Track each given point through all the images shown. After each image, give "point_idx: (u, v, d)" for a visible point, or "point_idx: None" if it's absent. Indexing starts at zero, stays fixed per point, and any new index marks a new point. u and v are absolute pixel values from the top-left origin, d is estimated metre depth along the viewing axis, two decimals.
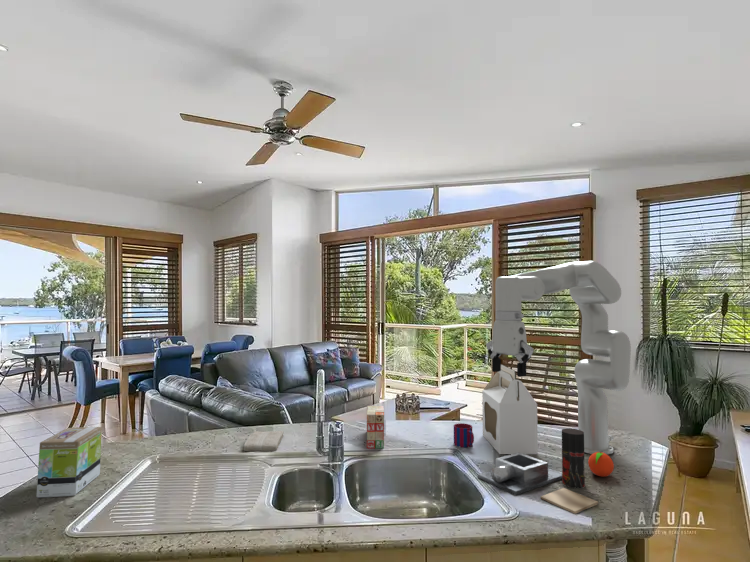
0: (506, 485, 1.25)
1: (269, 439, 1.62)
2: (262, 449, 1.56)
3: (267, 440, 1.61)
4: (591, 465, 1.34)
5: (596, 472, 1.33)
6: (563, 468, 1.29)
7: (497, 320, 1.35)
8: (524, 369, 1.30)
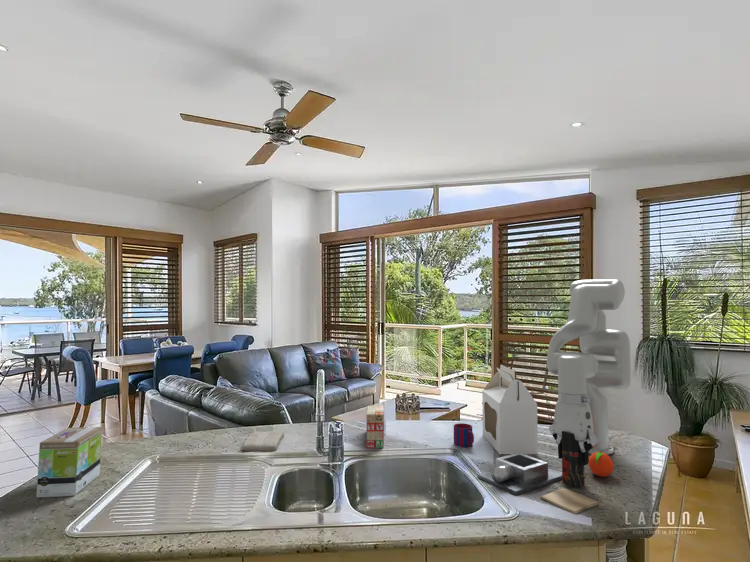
0: (506, 485, 1.25)
1: (269, 439, 1.62)
2: (261, 449, 1.56)
3: (267, 440, 1.61)
4: (591, 465, 1.34)
5: (596, 472, 1.33)
6: (563, 468, 1.29)
7: (560, 402, 1.29)
8: (586, 458, 1.26)
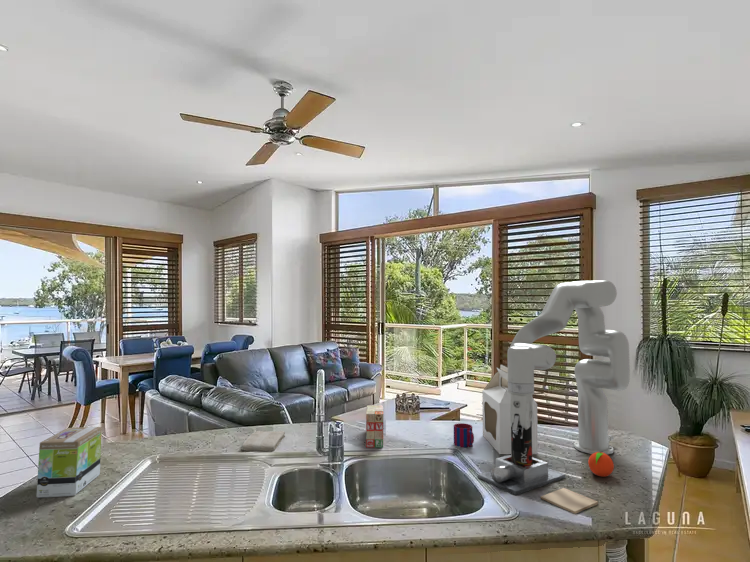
0: (506, 485, 1.25)
1: (268, 439, 1.62)
2: (260, 449, 1.56)
3: (266, 440, 1.61)
4: (591, 465, 1.34)
5: (596, 472, 1.33)
6: None
7: None
8: (518, 445, 1.30)
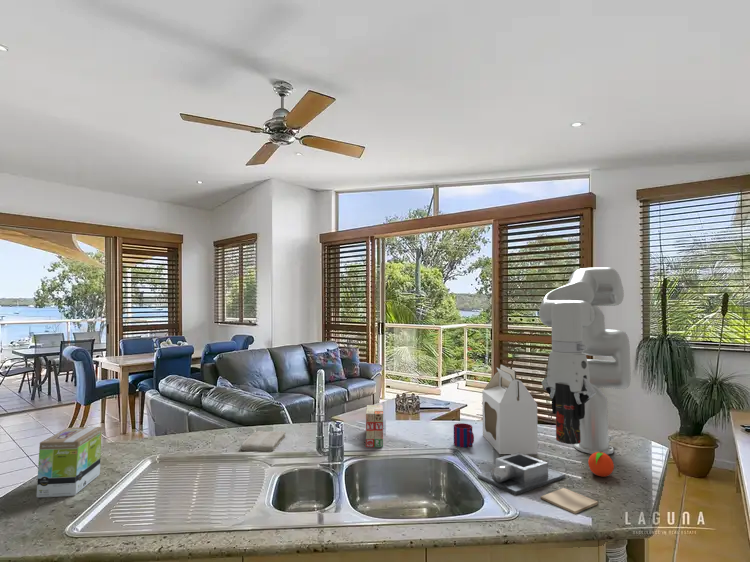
0: (506, 485, 1.25)
1: (268, 439, 1.62)
2: (259, 449, 1.56)
3: (266, 440, 1.61)
4: (591, 465, 1.34)
5: (596, 472, 1.33)
6: (556, 423, 1.19)
7: (554, 351, 1.19)
8: (583, 411, 1.15)
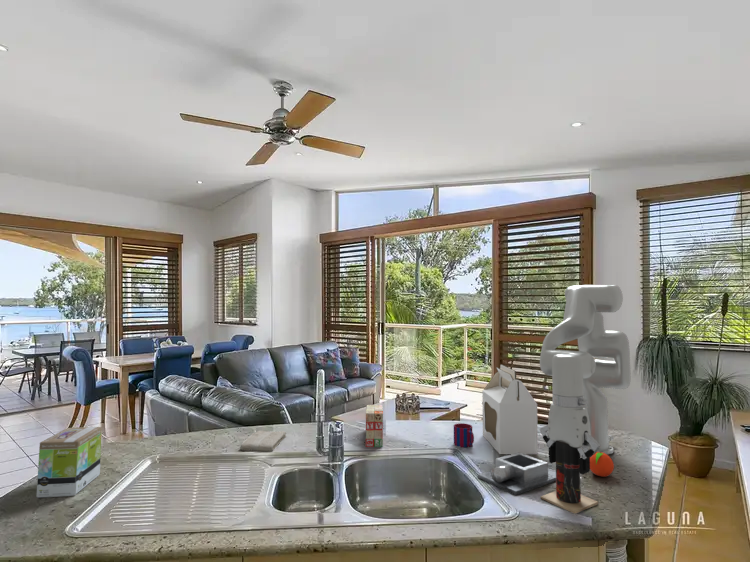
0: (506, 485, 1.25)
1: (267, 439, 1.62)
2: (258, 449, 1.56)
3: (265, 440, 1.61)
4: (591, 465, 1.34)
5: (596, 472, 1.33)
6: (557, 480, 1.18)
7: (555, 405, 1.18)
8: (588, 465, 1.14)
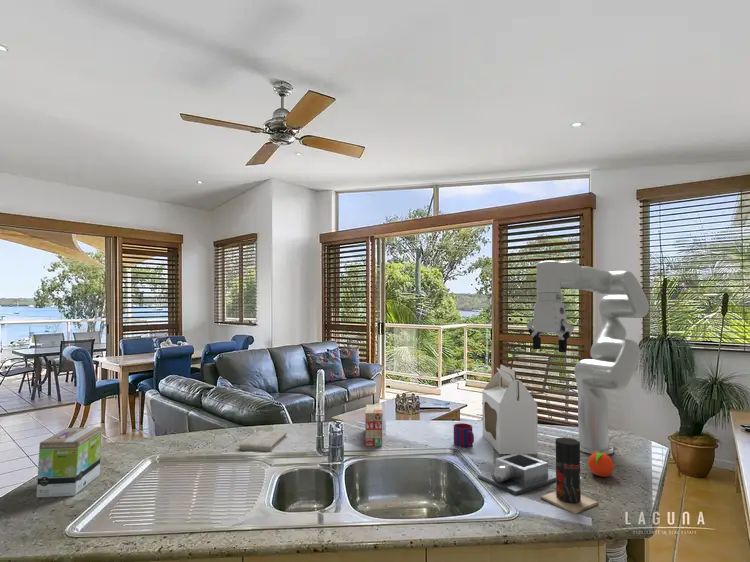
0: (506, 485, 1.25)
1: (267, 439, 1.62)
2: (257, 449, 1.56)
3: (265, 440, 1.61)
4: (591, 465, 1.34)
5: (596, 472, 1.33)
6: (557, 481, 1.18)
7: (538, 301, 1.47)
8: (565, 345, 1.42)
